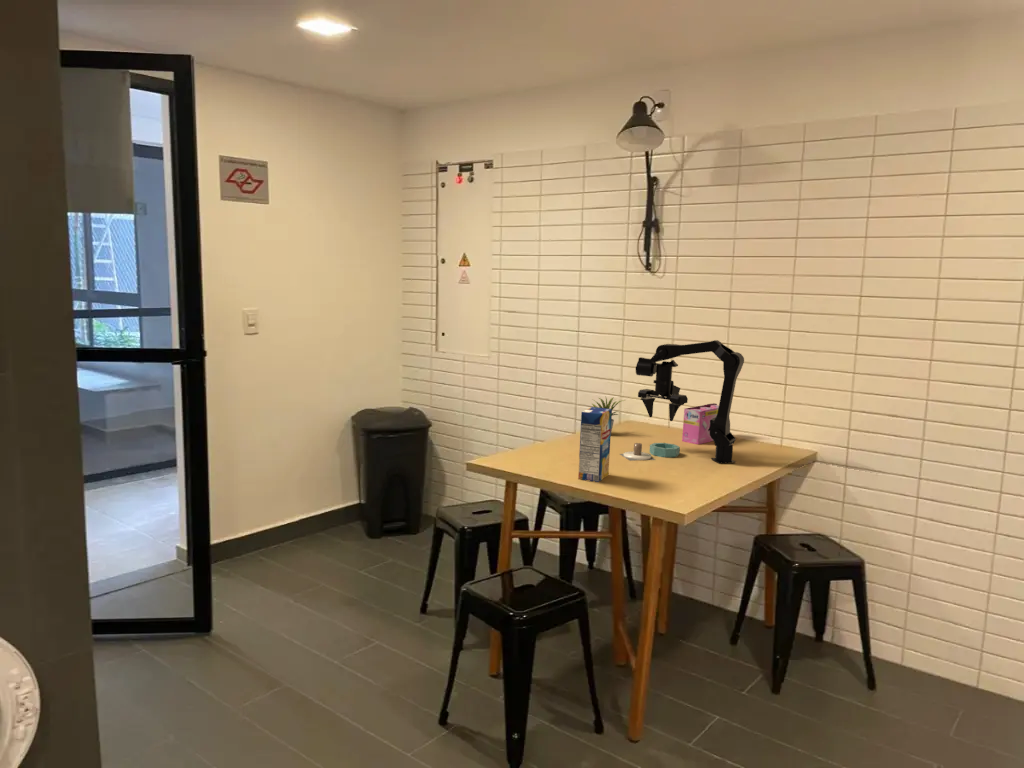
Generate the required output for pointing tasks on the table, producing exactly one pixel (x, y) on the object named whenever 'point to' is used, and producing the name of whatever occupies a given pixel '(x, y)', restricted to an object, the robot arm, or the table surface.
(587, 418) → the beverage box
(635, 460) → the mat
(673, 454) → the bowl
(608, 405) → the house plant
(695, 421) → the gum box
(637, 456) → the lid
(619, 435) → the table surface
